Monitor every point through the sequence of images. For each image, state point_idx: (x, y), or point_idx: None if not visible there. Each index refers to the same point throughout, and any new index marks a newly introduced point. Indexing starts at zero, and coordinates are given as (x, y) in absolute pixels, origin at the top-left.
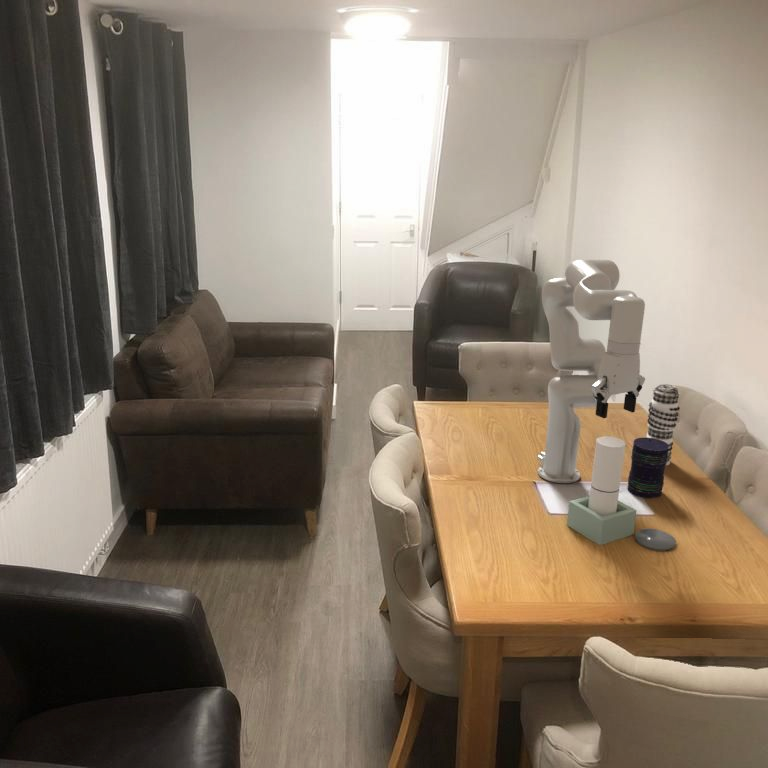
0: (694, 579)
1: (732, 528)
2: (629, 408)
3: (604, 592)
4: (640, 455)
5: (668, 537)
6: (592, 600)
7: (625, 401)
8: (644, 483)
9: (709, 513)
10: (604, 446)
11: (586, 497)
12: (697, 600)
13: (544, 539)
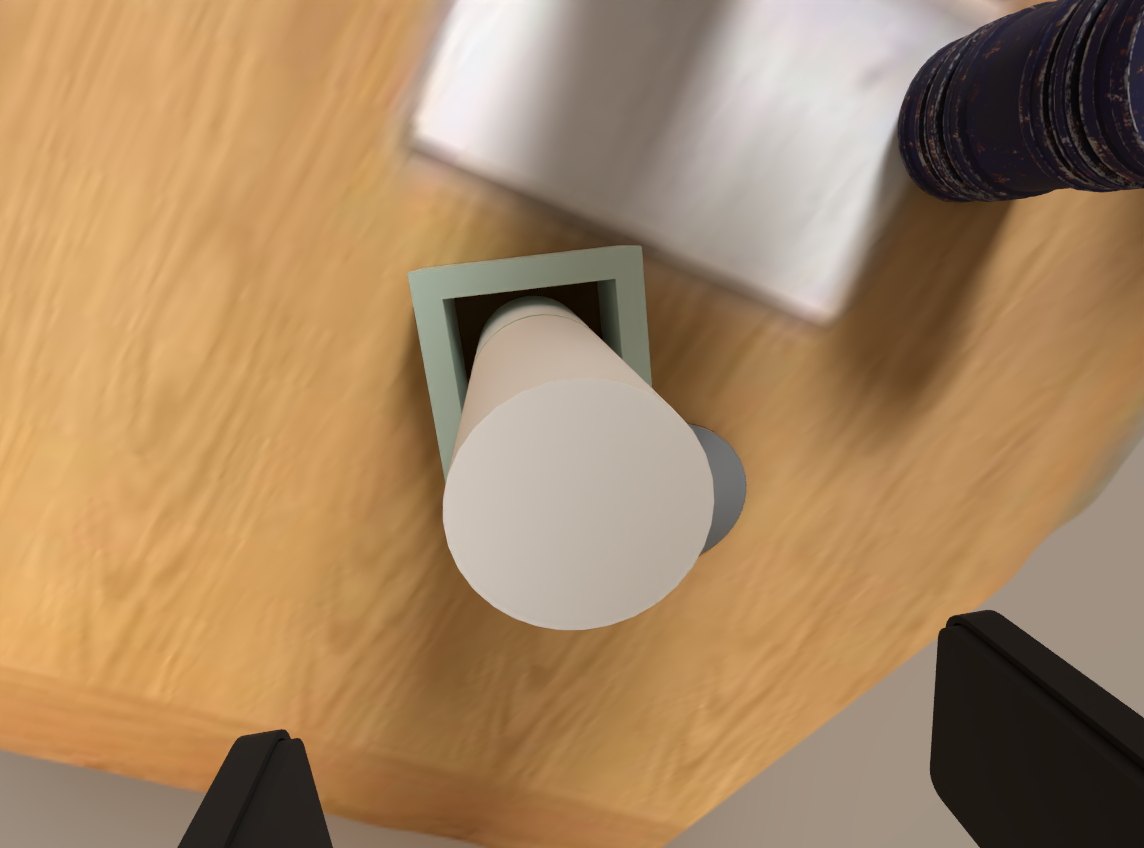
0: (611, 703)
1: (988, 506)
2: (965, 768)
3: (290, 687)
4: (1079, 89)
5: (724, 505)
6: (226, 710)
7: (1066, 751)
8: (959, 167)
9: (1021, 393)
10: (460, 565)
11: (521, 268)
12: (536, 781)
13: (261, 339)
